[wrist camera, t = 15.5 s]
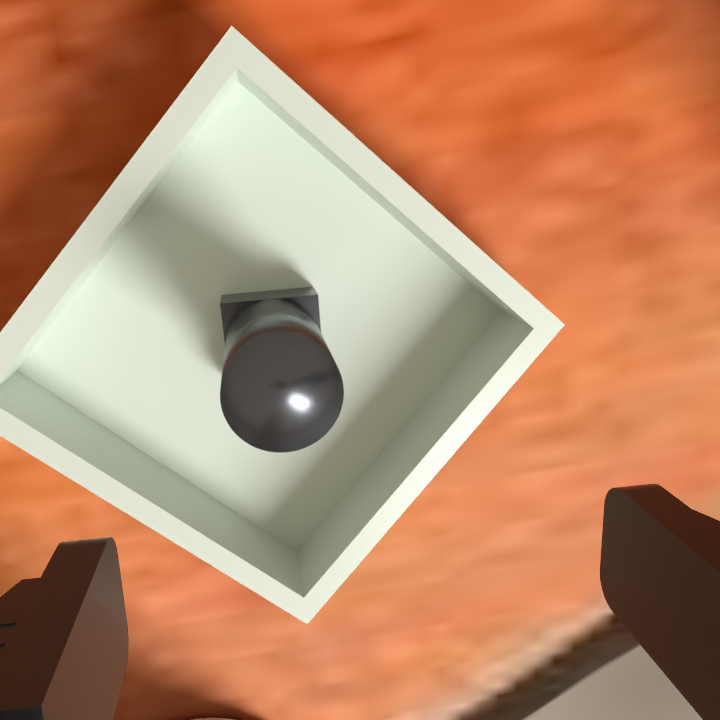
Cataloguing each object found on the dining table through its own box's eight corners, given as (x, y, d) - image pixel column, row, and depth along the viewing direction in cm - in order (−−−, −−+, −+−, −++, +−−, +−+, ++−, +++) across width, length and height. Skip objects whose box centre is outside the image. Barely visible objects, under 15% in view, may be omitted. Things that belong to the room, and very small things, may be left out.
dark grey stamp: (313, 286, 32) (339, 329, 23) (320, 373, 33) (347, 444, 24) (221, 295, 31) (212, 341, 22) (232, 382, 32) (227, 459, 24)
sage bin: (520, 304, 35) (564, 324, 30) (299, 565, 37) (307, 624, 32) (233, 49, 30) (231, 25, 25) (-9, 368, 31) (-53, 403, 27)
